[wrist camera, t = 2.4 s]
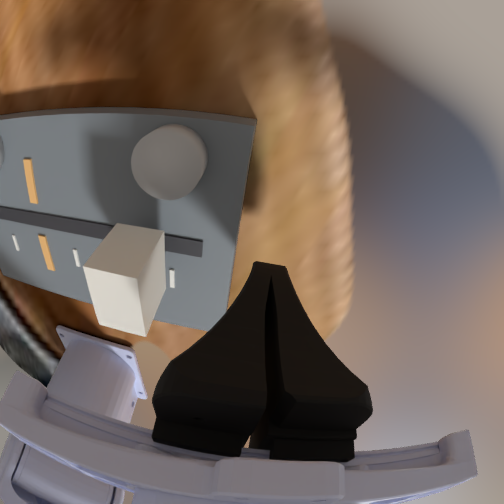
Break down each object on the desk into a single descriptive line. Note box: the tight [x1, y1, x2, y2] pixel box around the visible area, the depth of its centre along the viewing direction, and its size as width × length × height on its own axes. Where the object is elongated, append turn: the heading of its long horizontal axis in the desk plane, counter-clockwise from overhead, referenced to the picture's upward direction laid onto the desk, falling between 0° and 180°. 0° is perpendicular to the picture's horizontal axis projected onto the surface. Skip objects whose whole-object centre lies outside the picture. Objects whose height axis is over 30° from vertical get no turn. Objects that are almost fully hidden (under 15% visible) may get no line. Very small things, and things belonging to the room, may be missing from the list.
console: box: [0, 107, 257, 331], centre depth 14 cm, size 12×18×3 cm, turn 81°
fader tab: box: [83, 223, 166, 337], centre depth 12 cm, size 3×2×4 cm
